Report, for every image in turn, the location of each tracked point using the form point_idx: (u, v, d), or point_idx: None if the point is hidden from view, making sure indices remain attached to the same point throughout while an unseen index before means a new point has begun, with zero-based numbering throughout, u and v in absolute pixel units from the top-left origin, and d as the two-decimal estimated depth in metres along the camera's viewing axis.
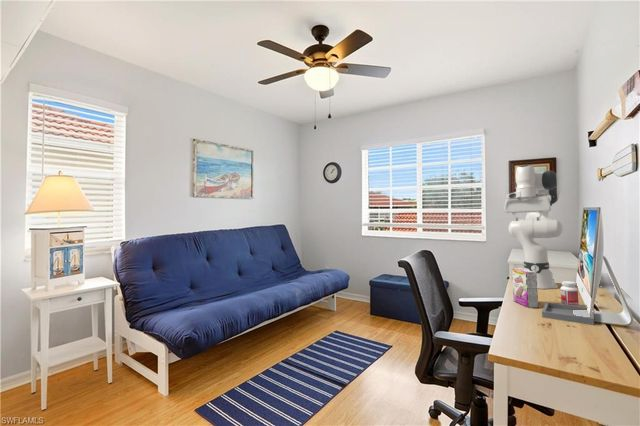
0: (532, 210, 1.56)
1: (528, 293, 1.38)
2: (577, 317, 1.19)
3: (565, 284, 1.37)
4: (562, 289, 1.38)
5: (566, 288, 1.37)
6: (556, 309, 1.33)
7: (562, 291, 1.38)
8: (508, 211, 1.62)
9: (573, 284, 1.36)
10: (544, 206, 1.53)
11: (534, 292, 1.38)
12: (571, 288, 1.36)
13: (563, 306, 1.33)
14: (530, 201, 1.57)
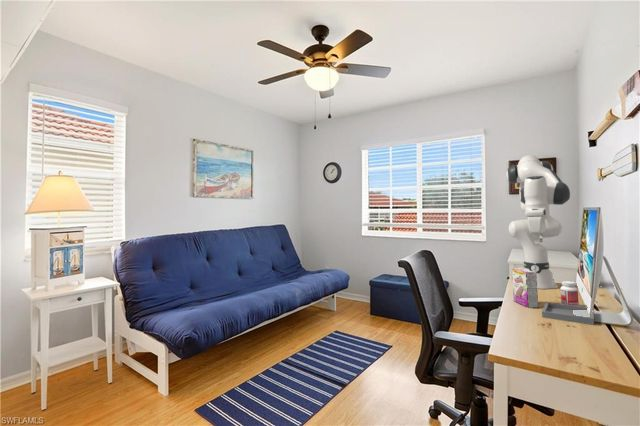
0: (543, 230, 1.36)
1: (528, 293, 1.38)
2: (577, 317, 1.19)
3: (565, 284, 1.37)
4: (562, 289, 1.38)
5: (566, 288, 1.37)
6: (556, 309, 1.33)
7: (562, 291, 1.38)
8: (540, 232, 1.28)
9: (573, 284, 1.36)
10: (544, 226, 1.39)
11: (534, 292, 1.38)
12: (571, 288, 1.36)
13: (563, 306, 1.33)
14: (542, 220, 1.35)
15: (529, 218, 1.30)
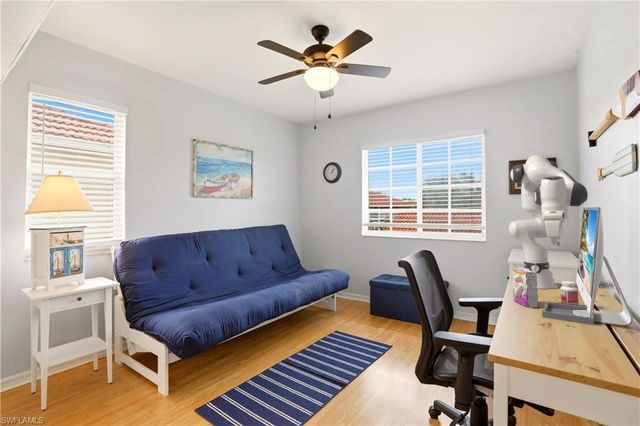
0: (561, 234, 1.29)
1: (528, 293, 1.38)
2: (577, 317, 1.19)
3: (565, 284, 1.37)
4: (562, 289, 1.38)
5: (566, 288, 1.37)
6: (556, 309, 1.33)
7: (562, 291, 1.38)
8: (559, 236, 1.21)
9: (573, 284, 1.36)
10: (562, 229, 1.32)
11: (534, 292, 1.38)
12: (571, 288, 1.36)
13: (563, 306, 1.33)
14: None
15: (547, 222, 1.22)
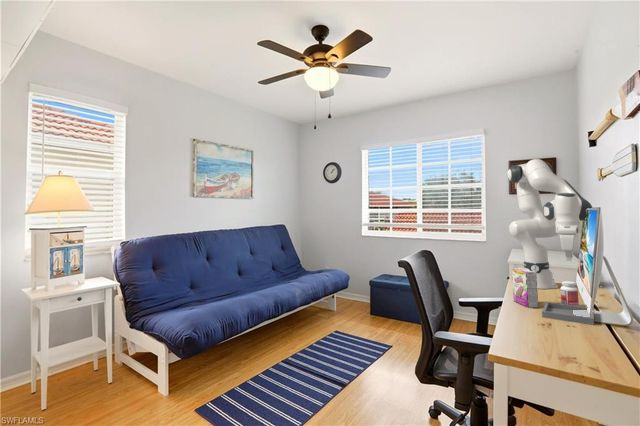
0: None
1: (528, 293, 1.38)
2: (577, 317, 1.19)
3: (565, 284, 1.37)
4: (562, 289, 1.38)
5: (566, 288, 1.37)
6: (556, 309, 1.33)
7: (562, 291, 1.38)
8: None
9: (573, 284, 1.36)
10: (574, 242, 1.41)
11: (534, 292, 1.38)
12: (571, 288, 1.36)
13: (563, 306, 1.33)
14: None
15: (561, 236, 1.31)
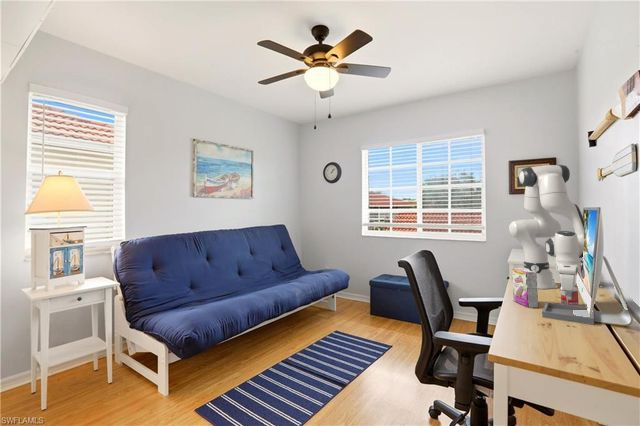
0: None
1: (528, 293, 1.38)
2: (577, 317, 1.19)
3: None
4: None
5: None
6: (556, 309, 1.33)
7: (562, 291, 1.38)
8: (572, 290, 1.31)
9: None
10: (574, 279, 1.43)
11: (534, 292, 1.38)
12: None
13: (563, 306, 1.33)
14: None
15: (561, 275, 1.33)
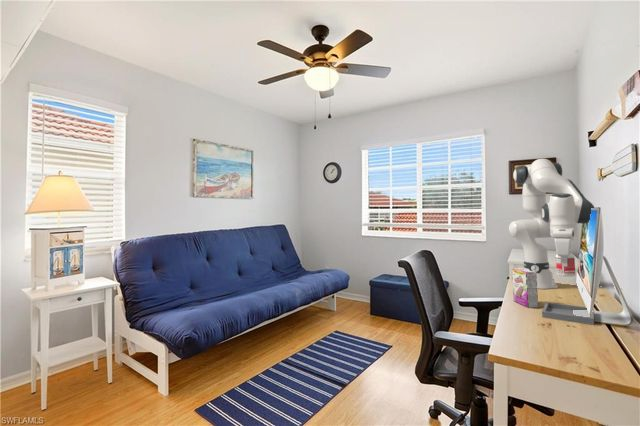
0: None
1: (528, 293, 1.38)
2: (577, 317, 1.19)
3: None
4: (557, 256, 1.27)
5: None
6: (556, 309, 1.33)
7: (557, 259, 1.27)
8: (568, 255, 1.20)
9: None
10: (570, 246, 1.32)
11: (534, 292, 1.38)
12: None
13: (563, 306, 1.33)
14: None
15: (556, 240, 1.22)
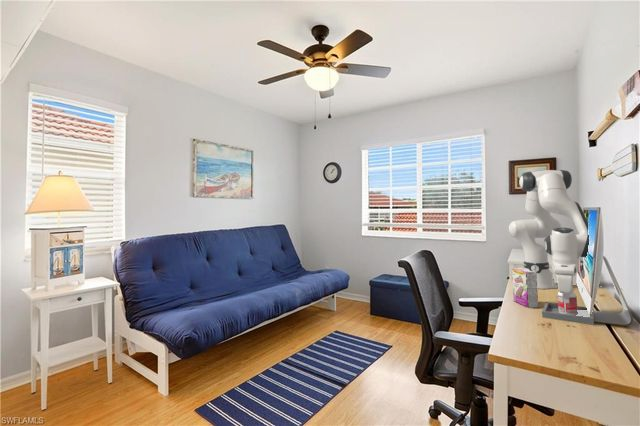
0: None
1: (528, 293, 1.38)
2: (577, 317, 1.19)
3: None
4: (559, 295, 1.27)
5: None
6: (556, 309, 1.33)
7: (559, 297, 1.27)
8: (570, 292, 1.20)
9: None
10: (572, 280, 1.31)
11: (534, 292, 1.38)
12: (569, 294, 1.25)
13: None
14: None
15: (558, 276, 1.22)
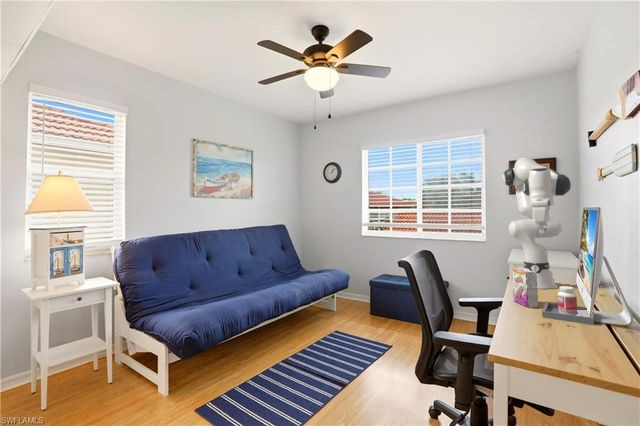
0: (547, 220, 1.41)
1: (528, 293, 1.38)
2: (577, 317, 1.19)
3: (563, 289, 1.26)
4: (559, 295, 1.27)
5: (564, 294, 1.26)
6: (556, 309, 1.33)
7: (559, 297, 1.27)
8: (545, 221, 1.34)
9: (571, 289, 1.25)
10: (548, 216, 1.45)
11: (534, 292, 1.38)
12: (569, 294, 1.25)
13: None
14: (546, 210, 1.41)
15: (534, 208, 1.35)
